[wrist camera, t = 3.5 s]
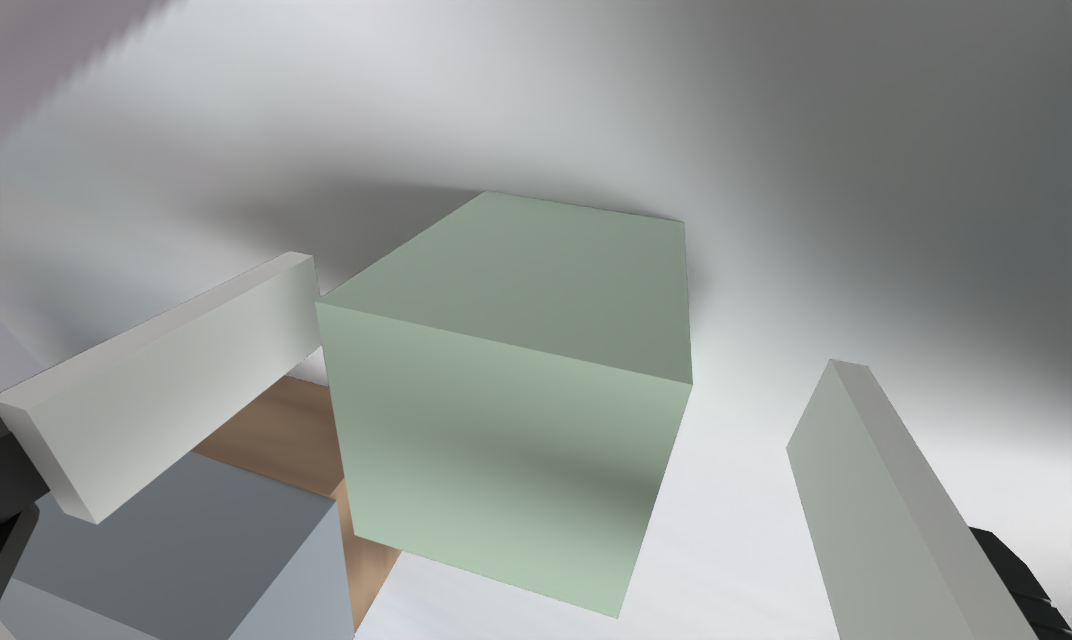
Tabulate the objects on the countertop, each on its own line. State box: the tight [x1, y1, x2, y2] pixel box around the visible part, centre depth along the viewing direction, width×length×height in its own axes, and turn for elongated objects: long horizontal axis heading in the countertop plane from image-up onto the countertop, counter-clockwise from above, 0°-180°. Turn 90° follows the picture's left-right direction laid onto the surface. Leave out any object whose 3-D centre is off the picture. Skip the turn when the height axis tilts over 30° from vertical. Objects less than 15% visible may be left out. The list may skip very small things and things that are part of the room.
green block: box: [315, 191, 693, 619], centre depth 12 cm, size 6×6×8 cm
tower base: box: [190, 375, 402, 633], centre depth 21 cm, size 9×9×5 cm
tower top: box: [0, 451, 355, 640], centre depth 17 cm, size 9×9×5 cm
